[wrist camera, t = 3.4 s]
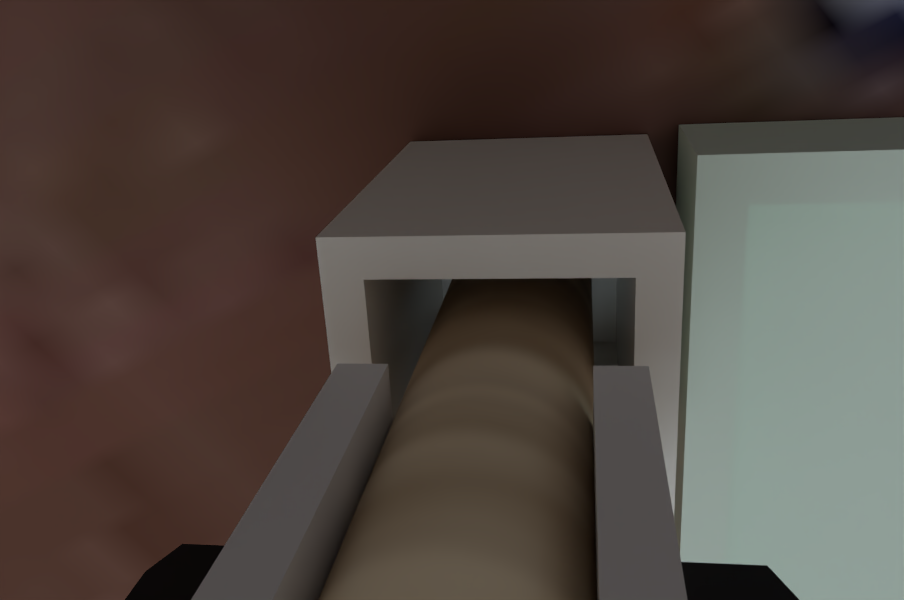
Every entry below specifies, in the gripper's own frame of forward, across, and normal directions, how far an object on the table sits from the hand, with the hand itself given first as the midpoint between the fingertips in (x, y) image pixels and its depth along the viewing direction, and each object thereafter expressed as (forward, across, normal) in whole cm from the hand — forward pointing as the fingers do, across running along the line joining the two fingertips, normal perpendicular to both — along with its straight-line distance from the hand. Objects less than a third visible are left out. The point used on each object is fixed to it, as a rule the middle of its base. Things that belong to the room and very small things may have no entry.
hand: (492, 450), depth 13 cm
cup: (+10, 0, 0) cm, 10 cm away
